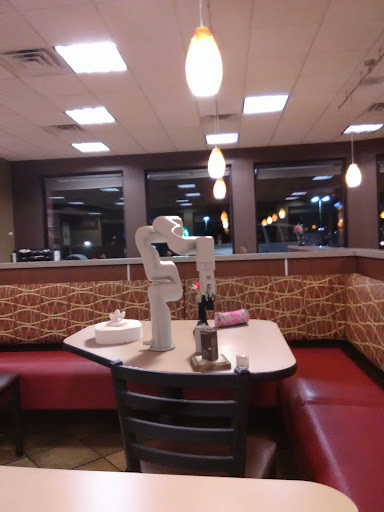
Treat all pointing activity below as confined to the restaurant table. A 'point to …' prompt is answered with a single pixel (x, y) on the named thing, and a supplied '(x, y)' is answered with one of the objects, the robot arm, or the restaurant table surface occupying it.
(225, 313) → the pencil case
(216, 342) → the box
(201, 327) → the can
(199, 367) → the stand
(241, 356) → the white small block
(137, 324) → the tissue box
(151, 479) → the restaurant table surface
